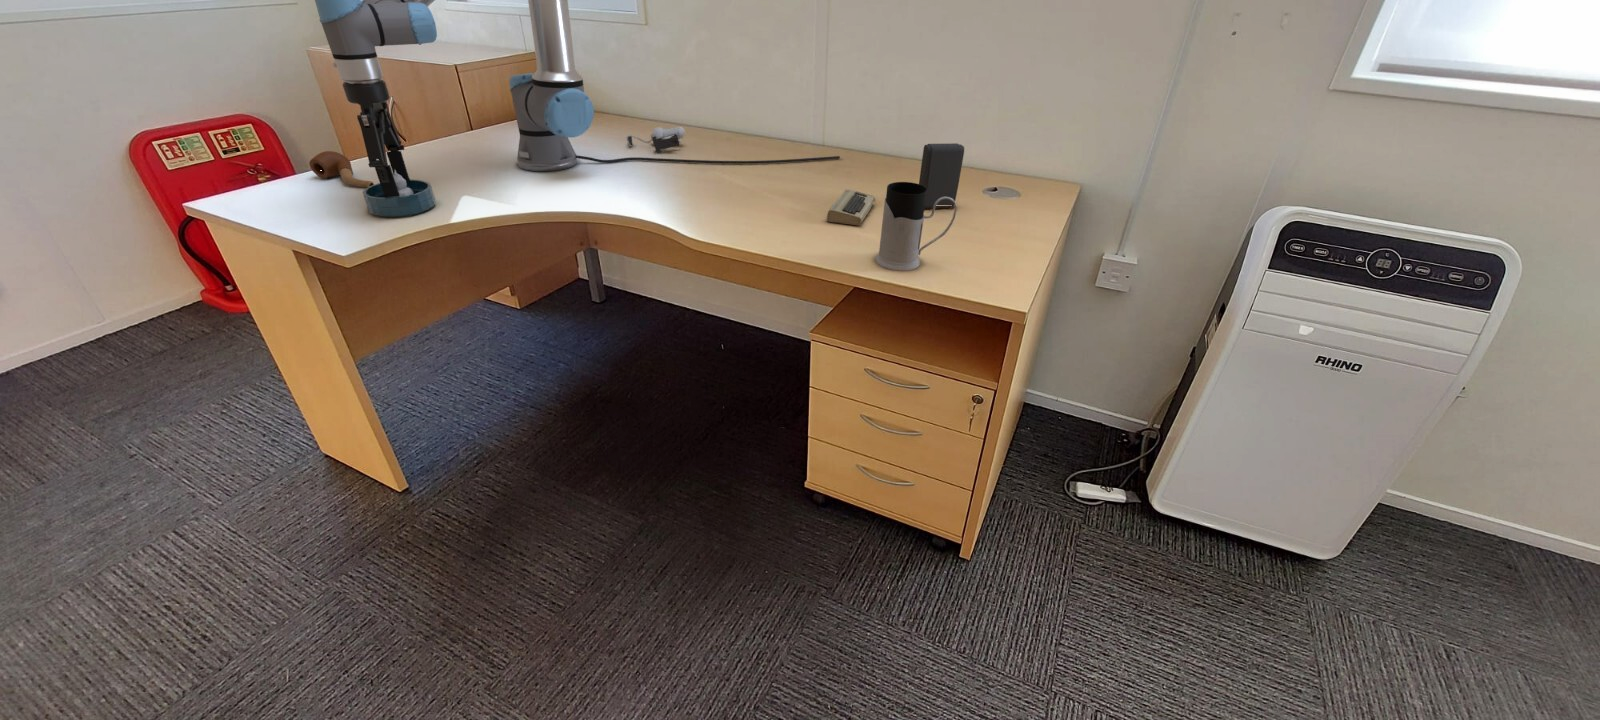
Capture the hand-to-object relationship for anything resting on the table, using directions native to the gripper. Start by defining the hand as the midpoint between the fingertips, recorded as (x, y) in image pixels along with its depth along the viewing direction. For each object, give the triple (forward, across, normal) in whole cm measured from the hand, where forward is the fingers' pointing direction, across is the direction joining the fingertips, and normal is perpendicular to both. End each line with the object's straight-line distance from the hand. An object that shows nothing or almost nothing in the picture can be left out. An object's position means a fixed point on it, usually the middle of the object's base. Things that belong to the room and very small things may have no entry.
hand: (397, 188), depth 142 cm
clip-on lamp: (+5, -42, +60) cm, 73 cm away
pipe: (+5, -24, -16) cm, 29 cm away
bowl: (+5, 0, 0) cm, 5 cm away
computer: (+5, +23, +99) cm, 102 cm away
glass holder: (+5, +52, +101) cm, 114 cm away
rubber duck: (+4, 0, 0) cm, 4 cm away
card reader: (+6, +23, +121) cm, 123 cm away
